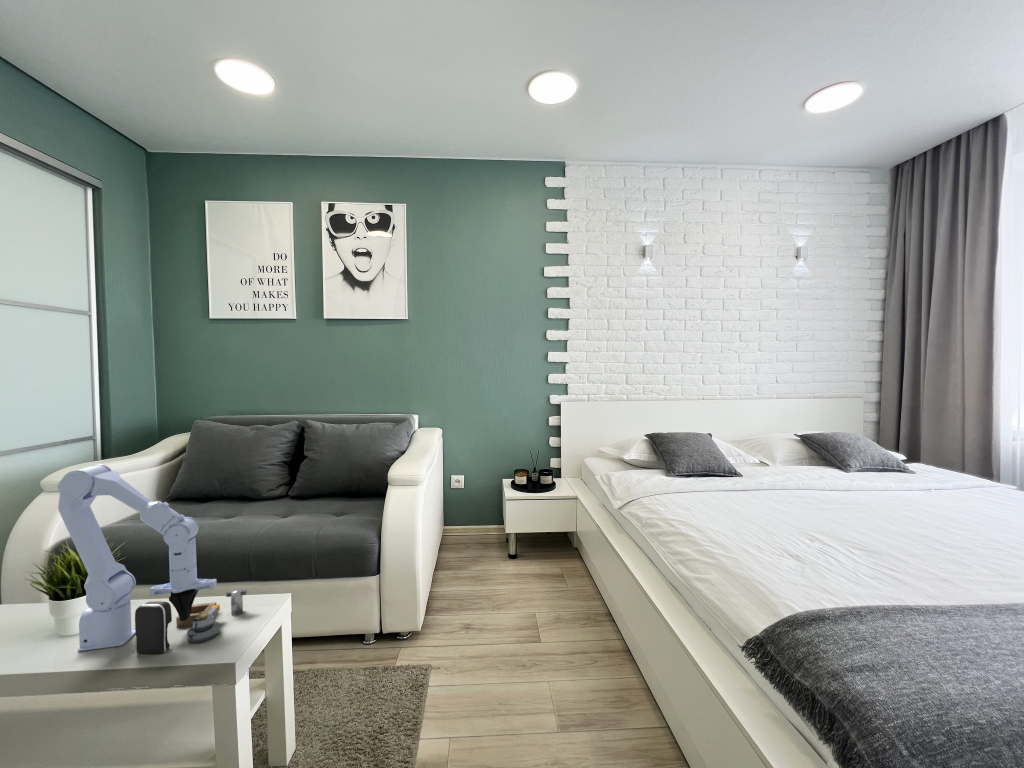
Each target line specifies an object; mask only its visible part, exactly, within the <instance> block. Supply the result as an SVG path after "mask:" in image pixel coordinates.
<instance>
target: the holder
mask: <svg viewBox="0 0 1024 768" xmlns="http://www.w3.org/2000/svg"><path fill="white" fill-rule="evenodd" d="M213 605H217V601H214V602H206V603H197V604H192V608H191V612H190V617H189V618H188V619H187V620H186V621H180V618H179V615H177V617H175V618H176V620H175V621H176V628H184V627H191V626H192V627H193V620H194V619H195V618H197V617H199V613H200V612H202V611H209V610H210V609H211V608H212V606H213Z"/></svg>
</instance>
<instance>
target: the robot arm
mask: <svg viewBox="0 0 1024 768" xmlns="http://www.w3.org/2000/svg"><path fill="white" fill-rule="evenodd" d="M56 487H57V490H58V491H59V497H58V498H59V499H58V508H57V509H58V512H59V514H60V517H61V518H62V520H63V523H64V525H65V528H66V531H67V532H68V533H69V534H68V535H69V536H70V538H71V540H72V542H73V544H74V547H75V549H76V551H77V553H78V555H79V557H80V559H81V562H82V564H83V566H84V569H85V570H86V572H87V578H86V580H85V583H84V586H83V588H84V590H85V593H86V595H85V602H86V603H85V604H86V605H87V606H88V607H87V608H85V609H84V610H83V611H82V613H81V615H80V618H79V622H78V631H79V632H78V633H79V634H78V636H79V637H78V638H79V639H78V641H79V648H77V651H78V652H82V651H90V650H96V649H104V648H105V649H106V648H111V647H119V646H123V645H125V643H127V641H129V640H130V639H131V638H132V637H133V636H134V635H136V631H135V627H133V628H132V608H131V607H132V606H131V605H132V604H131V603H132V601H131V600H132V599H131V592H132V591H133V590H134V589H135V587H136V584H137V581H136V578H135V576H134V575H133V574H132V573H131V572H130V571H128V570H127V568H126V566H125V565H124V564H122V563H119V562H117V561H116V559H115V557H114V556H113V555H114V554H113V552H112V551H111V548H110V546H109V545H108V543H107V540H106V538H105V536H104V533H103V532H102V529H101V527H100V525H99V523H98V520H97V518H96V516H95V514H94V512H93V509H92V508H91V505H92V504H93V502H94V501H95V499H96V498H97V496H110V497H112V498H114V499H116V500H118V501H119V502H120V503H123V504H124V505H126V506H128V507H129V508H131V509H133V510H135V511H136V512H137V513H139V519H140V521H142V522H143V523H145V525H147V526H149V527H150V528H152V529H154V530H155V531H156V532H158V533H159V534H161V535H162V537H163V541H164V543H165V544H166V545H167V546H168V556H169V557H168V560H169V582H168V583H164V584H158V585H153V586H152V587H151V588H149V596H150V597H155V596H157V595H165V594H170V596H169V597H168V600H169V602H170V604H172V605H173V607H174V608H175V610H176V612H177V614H178V615H179V618H180V621H186V620H187V619H188V618H189V617H190V612H191V608H192V605H194V601H195V599H196V596H197V594H198V593H199V591H200V590H208V589H209V590H214V589H215V588H216V587H217V585H218V583H217V578H211V579H210V578H198V568H197V544H196V543H197V542H196V540H197V539H196V535H197V534H198V533H199V530H200V526H199V523H198V521H197V520H196V519H195V518H194V517H193V516H192V517H191V516H186V515H184V514H182V513H179V512H177V511H176V510H174V509H172V508H171V507H170V504H169V503H168V502H167V501H164V502H162V501H161V500H157V501H152V500H150V499H149V498H148V497H146V496H145V495H144V494H143V493H141V492H140V491H139V490H137V489H136V488H135V487H134V486H132V485H131V484H130V483H128V482H127V481H126V480H124V479H123V477H122V476H121V475H120V474H119V472H117V471H115V470H112V469H111V468H110V467H109V466H108V465H106V464H101V463H98V464H97V463H96V464H93V465H91V466H89V467H85V468H80V469H73V470H71V471H68V472H67V473H65V474H64V476H63V477H62V478H61V480H60V481H59V482H58V484H57V485H56ZM178 615H177V616H178Z"/></svg>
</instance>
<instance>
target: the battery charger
mask: <svg viewBox="0 0 1024 768" xmlns="http://www.w3.org/2000/svg"><path fill="white" fill-rule="evenodd" d="M172 615H173V614H172V607H171V603H169V602H167V601H148V602H145V603H144V604H141V605H139V606H138V607H137V608H136V609H135V611H134V626H135V627H134V628H135V631H136V633H135V640H136V641H135V643H136V646H135V647H136V653H137V654H140V655H141V654H142V655H143V654H144V655H154V654H155V655H156V654H157V655H159V654H163V653H165V652H166V651H168V650H169V649H170V643H169V640H168V627H169V624H170V623H172V620H173V619H172V617H173V616H172Z"/></svg>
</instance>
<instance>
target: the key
mask: <svg viewBox="0 0 1024 768" xmlns="http://www.w3.org/2000/svg"><path fill="white" fill-rule="evenodd" d="M247 593H248V590H247V589H243V588H242V589H241V588H236V589H233V590H231V591H227V592H226V598H230V611H231V612H230V614H231V615H232V616H238V615H241V614H242V613H243V612H244V603H243V600H244V599H243V598H244V597H243V596H246V595H247Z"/></svg>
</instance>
